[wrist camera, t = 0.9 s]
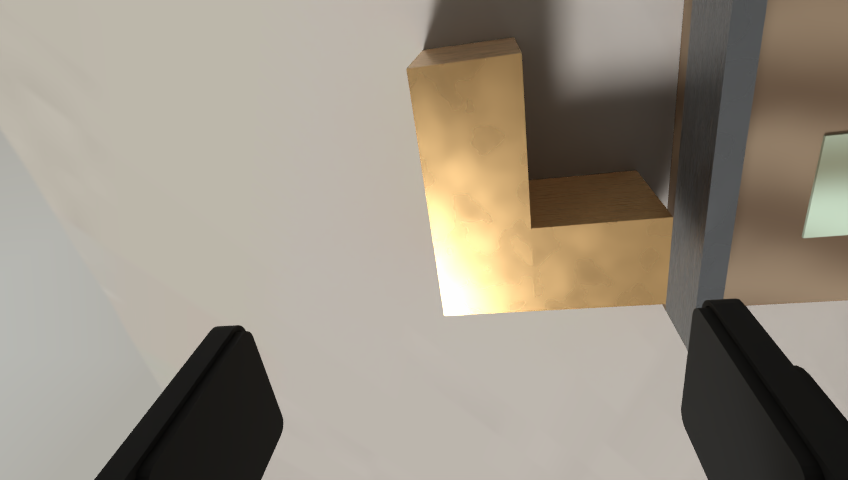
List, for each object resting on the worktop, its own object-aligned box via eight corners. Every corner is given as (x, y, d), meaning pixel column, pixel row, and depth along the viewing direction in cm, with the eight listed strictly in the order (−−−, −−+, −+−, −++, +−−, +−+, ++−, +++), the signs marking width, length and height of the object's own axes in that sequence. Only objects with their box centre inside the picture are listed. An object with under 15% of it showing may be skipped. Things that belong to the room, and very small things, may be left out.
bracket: (423, 49, 25) (406, 68, 20) (643, 18, 23) (689, 30, 18) (451, 257, 30) (444, 315, 25) (632, 244, 29) (665, 303, 23)
